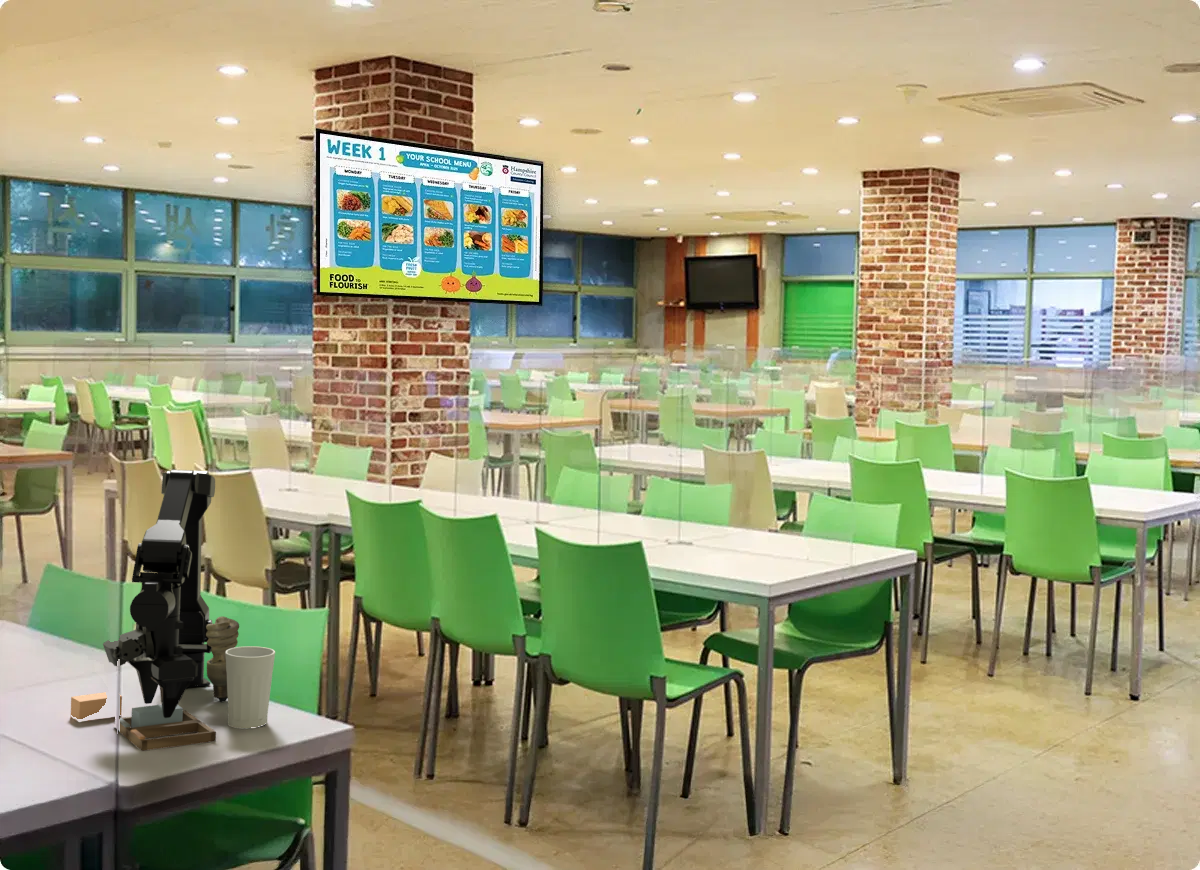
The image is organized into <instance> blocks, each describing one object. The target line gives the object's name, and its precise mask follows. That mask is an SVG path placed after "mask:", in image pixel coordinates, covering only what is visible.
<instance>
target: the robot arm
mask: <svg viewBox="0 0 1200 870" xmlns="http://www.w3.org/2000/svg"><path fill="white" fill-rule="evenodd" d="M160 493H161V494H162V495H163V498H162V501H161V504H160V508H159V509H160V510H159V513H158V516H157V519H156V522H155V524H153V525H152V526H151V527H149V528H148V529H146V530H145V532H144V534H143V537H142V540H141V543H140V542H138V543H137V548H136V554H135V559H134V565H133V571H132V577H131V583H141V589H140V592H138V594H136V596H134V598H132V601H131V603H130V605H129V612H130V613H129V614H130V617H131V618H132V621H134V622H135V629H134V630H131V631H128V632H124V633H122V634H120V635H119V636H120V638H119V640H118V641H114V642H110V641H109V640H110V639H108V640H106V641H104V642H103V643H102V646H103V649H104V651H105V655H106V657H107V660H108V663H111V664H112V665H113V666H114V667H118V666H117V661H118V659H120V666H119V667H121V666H123V665H125V664H126V663H127V664H129V665H130V666H131V667H132V668H134V670H136V674H137V678H138V682H139V686H140V690H141V695H142V698H143V702H144V703H143V704H145V705H148V704H152V703H153V701H154V698H155V695H156V693H157V690H158V687H159V692H160V699H161V700H160V701H161V704H162V710H163V717H164V718H170V717H171V716H172V714H173V712H174V710H175V708H176V706H177V705H179V702H180V700H181V699H182V697H183V695H184V693H185V692H186V690H187V688H196V687H204V686H210V685H211V681H210V680H209V679H206V678H205V674H204V672H205V655H206V653H207V654H210V653H212V651H211V649H212V647H211V646H208V645H207V641H208V639H209V638H208V637H207V636H206V633H207V631H208V630H207V629H206V626H207V624H214V623H213V620H212V619H210V607H209V605H208V604H207V603H206V602H205V600H204V598H203V597H202V595H201V591H202V590H201V587H202V586H201V585H202V584H201V582H202V576H201V575H202V532H203V531H202V530H203V529H202V526H203V523H202V522H203V516H204V515H205V513H206V511H207V510H208V508H209V507H210V505H211V503H212V498H214V497H215V495H216V494H215V493H216V477H214V476H213V475H210V474H209V470H194V469H193V470H191V469H190V470H189V469H188V470H187V469H171V470H167V472H163V473H162V480H161V492H160ZM142 571H143V572H142Z"/></svg>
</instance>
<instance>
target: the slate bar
mask: <svg viewBox="0 0 1200 870" xmlns="http://www.w3.org/2000/svg"><path fill="white" fill-rule="evenodd" d="M183 709H184V708H183V707H182V706H181V705H179V704H178V705H177V706H176V708H175V710H174V712H173V714H172V716H171V717H170V718H164V717H163V710H162V703H161V704H156V705H146V706H139V707H138V706H136V707H131V717H132V720H131V728H133V727H141V726H150V725H158V724H166V723H174V722H183V721H182V718H183V711H184V710H183Z"/></svg>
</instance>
